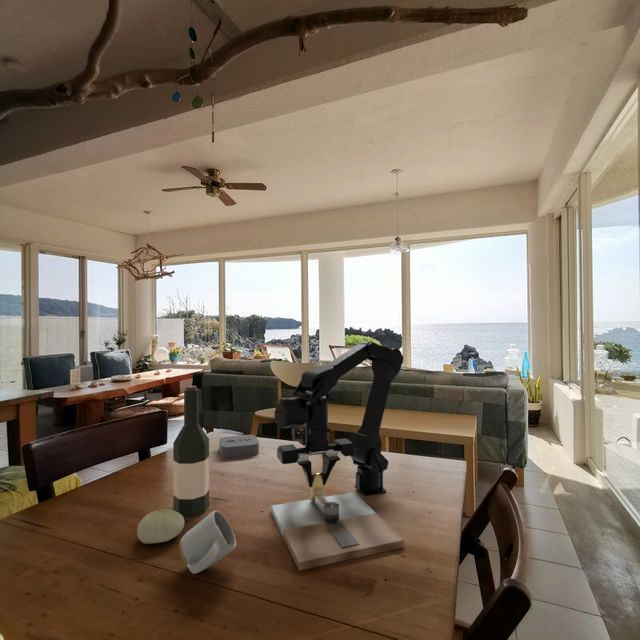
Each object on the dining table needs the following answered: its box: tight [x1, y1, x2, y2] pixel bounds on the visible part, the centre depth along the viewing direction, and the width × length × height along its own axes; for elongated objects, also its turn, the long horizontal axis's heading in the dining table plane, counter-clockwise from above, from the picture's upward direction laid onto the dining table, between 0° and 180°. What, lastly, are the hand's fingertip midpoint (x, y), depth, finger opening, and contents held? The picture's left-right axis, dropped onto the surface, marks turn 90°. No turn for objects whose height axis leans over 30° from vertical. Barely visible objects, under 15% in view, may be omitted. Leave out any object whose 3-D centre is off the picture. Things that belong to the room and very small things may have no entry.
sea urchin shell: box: [136, 508, 186, 545], centre depth 84 cm, size 9×8×8 cm
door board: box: [270, 491, 405, 571], centre depth 87 cm, size 22×24×2 cm
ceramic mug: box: [178, 510, 237, 575], centre depth 72 cm, size 11×8×8 cm
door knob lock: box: [309, 470, 339, 523], centre depth 92 cm, size 13×3×6 cm, turn 19°
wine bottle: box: [172, 385, 210, 518], centre depth 97 cm, size 8×8×30 cm
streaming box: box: [218, 434, 260, 460], centre depth 139 cm, size 13×13×5 cm
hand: (316, 485), depth 97 cm, fingers closed on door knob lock, 3 cm apart
